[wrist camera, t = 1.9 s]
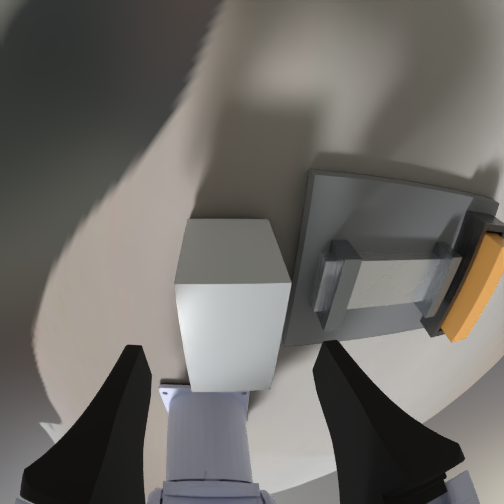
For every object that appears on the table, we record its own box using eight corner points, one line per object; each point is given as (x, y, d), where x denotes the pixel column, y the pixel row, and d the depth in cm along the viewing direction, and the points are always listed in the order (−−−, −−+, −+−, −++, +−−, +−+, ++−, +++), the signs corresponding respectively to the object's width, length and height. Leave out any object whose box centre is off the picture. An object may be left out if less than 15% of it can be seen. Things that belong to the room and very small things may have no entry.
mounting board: (441, 315, 22) (446, 322, 21) (281, 336, 20) (284, 346, 19) (491, 198, 16) (499, 203, 15) (309, 169, 14) (314, 174, 13)
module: (256, 312, 18) (270, 389, 13) (195, 313, 18) (191, 392, 13) (265, 212, 15) (291, 282, 10) (189, 212, 14) (173, 284, 9)
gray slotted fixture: (446, 315, 20) (457, 330, 19) (300, 336, 19) (307, 358, 17) (491, 214, 15) (508, 226, 14) (330, 195, 14) (346, 211, 12)
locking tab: (454, 322, 19) (466, 338, 17) (439, 325, 18) (451, 342, 17) (496, 233, 14) (514, 247, 13) (483, 232, 14) (501, 247, 12)
